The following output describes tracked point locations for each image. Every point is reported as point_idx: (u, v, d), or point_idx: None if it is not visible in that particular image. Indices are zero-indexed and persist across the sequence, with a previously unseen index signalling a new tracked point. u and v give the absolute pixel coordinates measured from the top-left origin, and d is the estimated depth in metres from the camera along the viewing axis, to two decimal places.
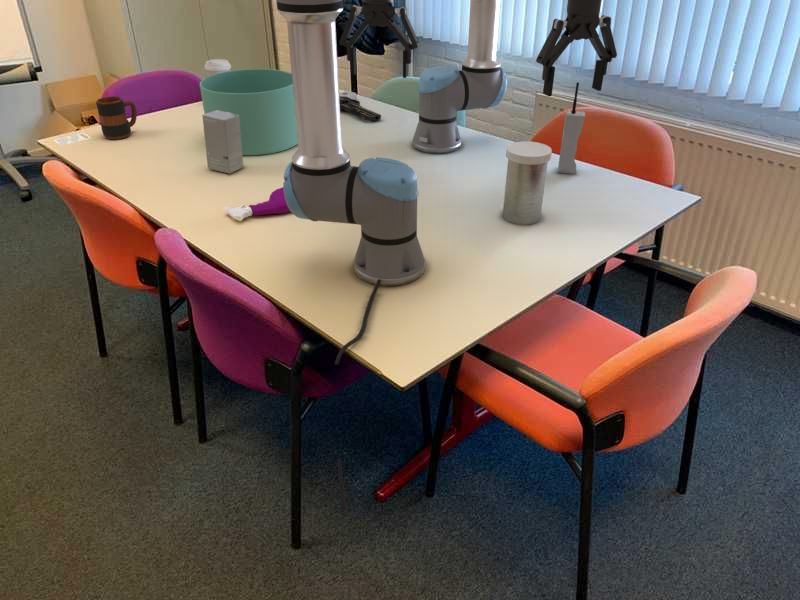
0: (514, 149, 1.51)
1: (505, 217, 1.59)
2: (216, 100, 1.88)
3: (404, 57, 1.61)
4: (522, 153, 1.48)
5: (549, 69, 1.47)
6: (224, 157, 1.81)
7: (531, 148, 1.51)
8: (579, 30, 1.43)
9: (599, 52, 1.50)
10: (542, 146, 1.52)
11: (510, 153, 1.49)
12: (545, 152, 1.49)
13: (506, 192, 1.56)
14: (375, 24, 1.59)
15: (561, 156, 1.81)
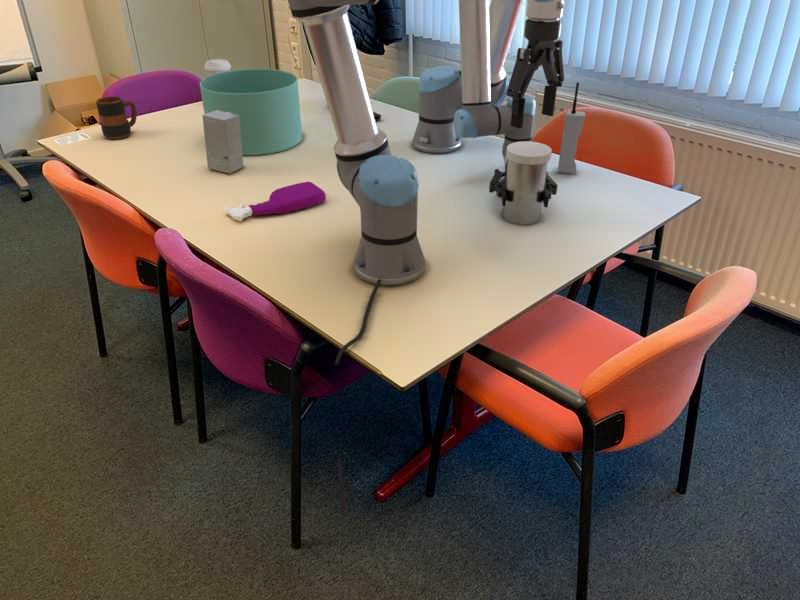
0: (514, 149, 1.51)
1: (505, 217, 1.59)
2: (216, 100, 1.88)
3: None
4: (522, 153, 1.48)
5: None
6: (224, 157, 1.81)
7: (531, 148, 1.51)
8: None
9: None
10: (542, 146, 1.52)
11: (510, 153, 1.49)
12: (545, 152, 1.49)
13: (506, 192, 1.56)
14: None
15: (561, 156, 1.81)
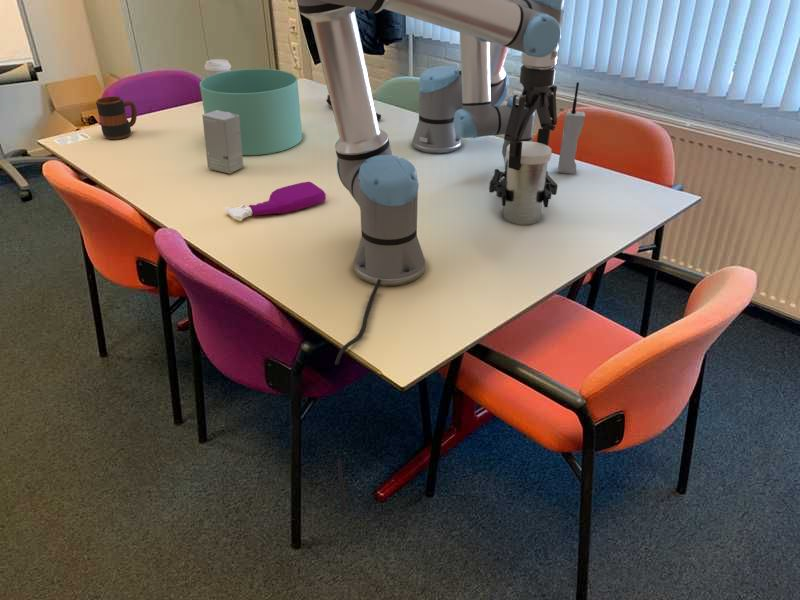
0: None
1: (505, 217, 1.59)
2: (216, 100, 1.88)
3: None
4: (522, 153, 1.48)
5: None
6: (224, 157, 1.81)
7: (531, 148, 1.51)
8: None
9: None
10: (542, 146, 1.52)
11: None
12: (545, 152, 1.49)
13: (506, 192, 1.56)
14: None
15: (561, 156, 1.81)
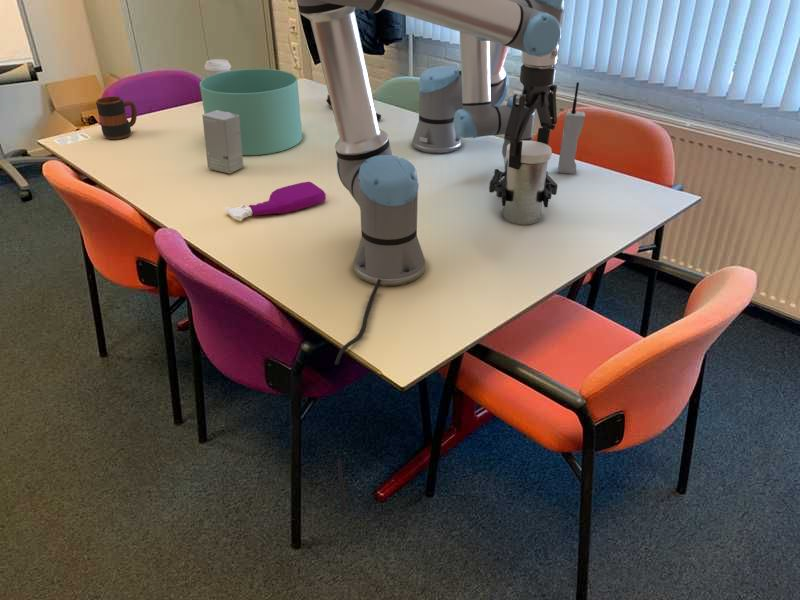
0: (526, 153, 1.48)
1: (505, 217, 1.59)
2: (216, 100, 1.88)
3: None
4: (539, 152, 1.48)
5: None
6: (224, 157, 1.81)
7: (529, 147, 1.51)
8: None
9: None
10: (526, 142, 1.54)
11: (533, 156, 1.47)
12: (543, 145, 1.52)
13: (506, 192, 1.56)
14: None
15: (561, 156, 1.81)
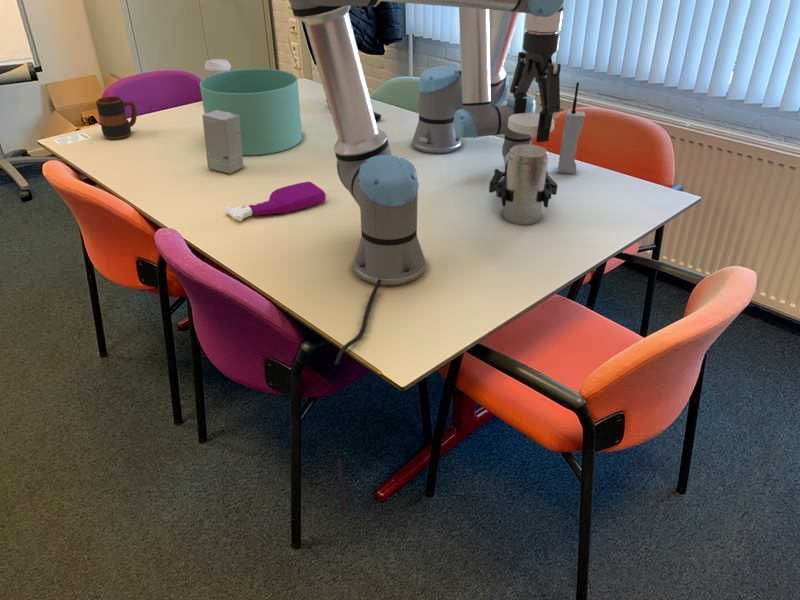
0: None
1: (505, 217, 1.59)
2: (216, 100, 1.88)
3: (539, 119, 1.41)
4: None
5: None
6: (224, 157, 1.81)
7: (528, 119, 1.47)
8: None
9: None
10: (515, 117, 1.48)
11: (553, 123, 1.45)
12: (527, 114, 1.51)
13: (506, 192, 1.56)
14: (531, 73, 1.42)
15: (561, 156, 1.81)
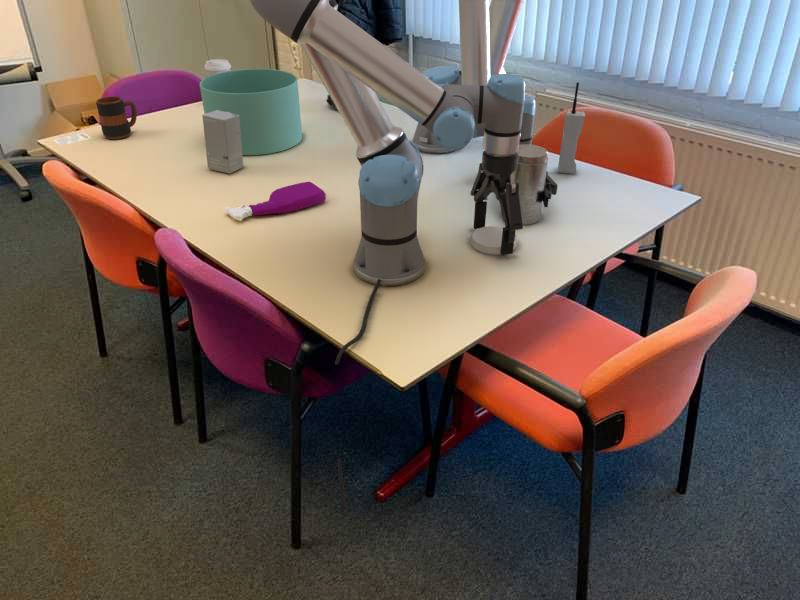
0: None
1: None
2: (216, 100, 1.88)
3: (503, 234, 1.39)
4: None
5: None
6: (224, 157, 1.81)
7: (491, 235, 1.48)
8: None
9: None
10: (478, 233, 1.49)
11: (516, 241, 1.46)
12: (491, 228, 1.51)
13: None
14: (491, 189, 1.41)
15: (561, 156, 1.81)
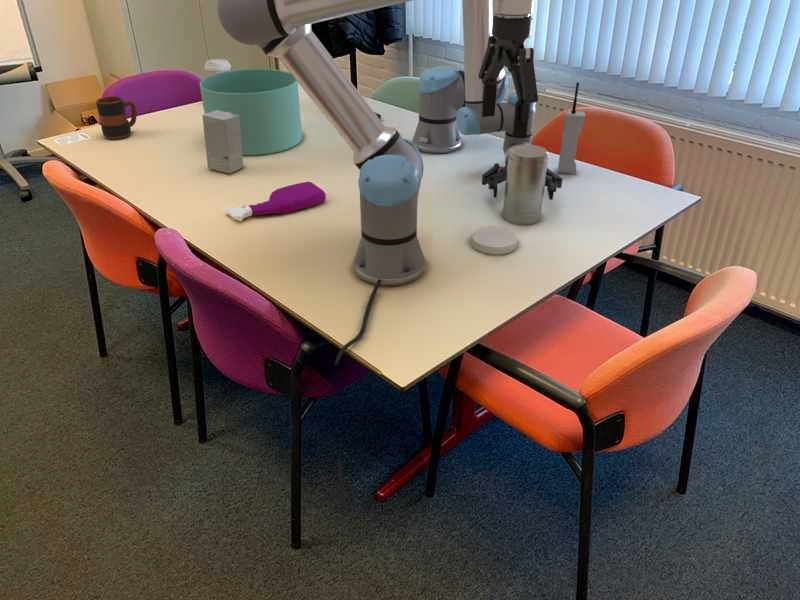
0: (507, 241, 1.45)
1: (505, 217, 1.59)
2: (216, 100, 1.88)
3: (515, 111, 1.25)
4: (510, 235, 1.48)
5: None
6: (224, 157, 1.81)
7: (491, 235, 1.48)
8: None
9: (498, 180, 1.65)
10: (478, 233, 1.49)
11: (516, 241, 1.46)
12: (491, 228, 1.51)
13: (506, 192, 1.56)
14: (502, 62, 1.27)
15: (561, 156, 1.81)
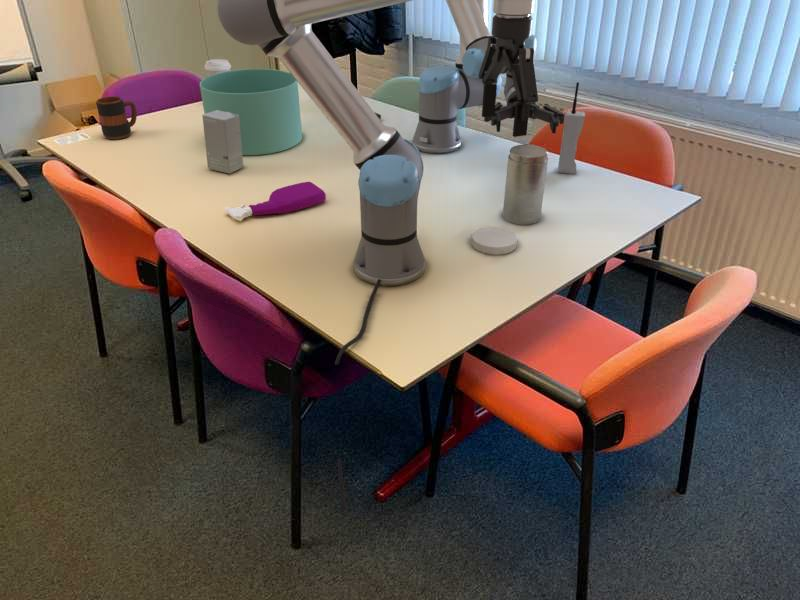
0: (507, 241, 1.45)
1: (505, 217, 1.59)
2: (216, 100, 1.88)
3: (515, 111, 1.25)
4: (510, 235, 1.48)
5: None
6: (224, 157, 1.81)
7: (491, 235, 1.48)
8: None
9: (501, 117, 1.66)
10: (478, 233, 1.49)
11: (516, 241, 1.46)
12: (491, 228, 1.51)
13: (506, 192, 1.56)
14: (502, 62, 1.27)
15: (561, 156, 1.81)
